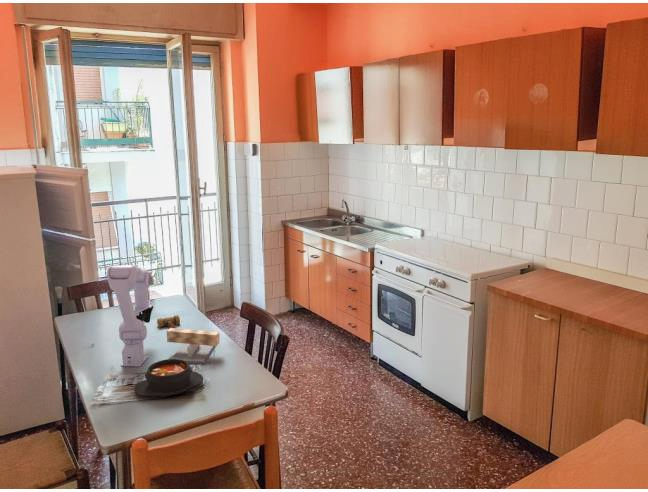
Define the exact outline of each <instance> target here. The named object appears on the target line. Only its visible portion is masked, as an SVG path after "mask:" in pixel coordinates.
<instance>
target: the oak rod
mask: <svg viewBox="0 0 648 492" xmlns="http://www.w3.org/2000/svg"><path fill="white" fill-rule="evenodd" d="M166 342H167V343H174V344H175V343H177V344H183V343H185V344H196V345H208V346H215V347H217V346H218V345H219V344H220V332H219V331H211V330H201V329H200V330H198V329H189V328H188V329H186V328H185V329H184V328H177V327H176V328H169V329H167V330H166Z"/></svg>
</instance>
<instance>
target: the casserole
mask: <svg viewBox="0 0 648 492" xmlns="http://www.w3.org/2000/svg"><path fill="white" fill-rule="evenodd" d="M144 378H145V379H144V380H141V381H138V382H137V383H136V384H135V385H134V388H133V389H134V393H136V394H137V395H139V396H141V397H152V396H158V397H159V396H160V397H162V396H163V397H164V396H165V397H166V396H171V395H177V394H180V393H183V392H186V391H188V390H189V389H191V388H194V387H197V386H199V385H201V384H202V383H203V382H204V377H203V375H202V374H201V373H199V372H197V371H193V368H192V366H190V364H189V363H187V362H186V361H184V360H180V359H171V358H169V359H163V360H162V359H161V360H158V361H156V362H153V363H152V364H151V365H149V366H148V367H147V370H146V372H145V373H144Z"/></svg>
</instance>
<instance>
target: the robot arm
mask: <svg viewBox="0 0 648 492" xmlns="http://www.w3.org/2000/svg"><path fill="white" fill-rule="evenodd" d="M106 274H107V275H106V279H107V282H108V285H109V288H110V290H112V291H113V292H114V293H115V297H116V299H117V303H118V307H119V310H120V313H121V316H122V321H121V322H120V324H119V326H118V333H119V334H118V337H119V340H121V342H123V343H122V344H124V347H123V348H122V351H121V355H122V357H121V358H122V363H121V364H120V366H121V367H141V366H142V364H144V362H146V360H147V359H148V358H149V356H148V355H145V349H144V341H145V340H146V339H147V335H148V334H147V333H148V330H147V326H146V325H145V324H146V323H147V324H149V323H150V321H151V316H152V312H153V309H154V305H152V302H151V301H152V300H150V299H149V278H150V273H149V270H147V269H142V268H141V267H139V265H135V264H129V265H123V264H121V265H109V266H108V267H107V270H106ZM132 290H133V292H134V303H133V301H132V296H131V294H130V292H131V291H132ZM133 304H134V305H135V306H134V305H133Z"/></svg>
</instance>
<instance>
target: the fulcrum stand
mask: <svg viewBox="0 0 648 492" xmlns="http://www.w3.org/2000/svg"><path fill="white" fill-rule="evenodd" d="M215 347H216V346H208V345H196V344H185V343H181V345H180V347H179V348H178V350H177V351H176V352H175V353H174V355H172V357H171V358H170V359H180V360H184V361H186V362H187V363H188V364H189V365H191V364H193V365H196V364H195V363H199V364H198V365H204V364H205V362H206V361H207V359H209V356H210V354H211V353H212V351H213V350H214V348H215Z"/></svg>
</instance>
